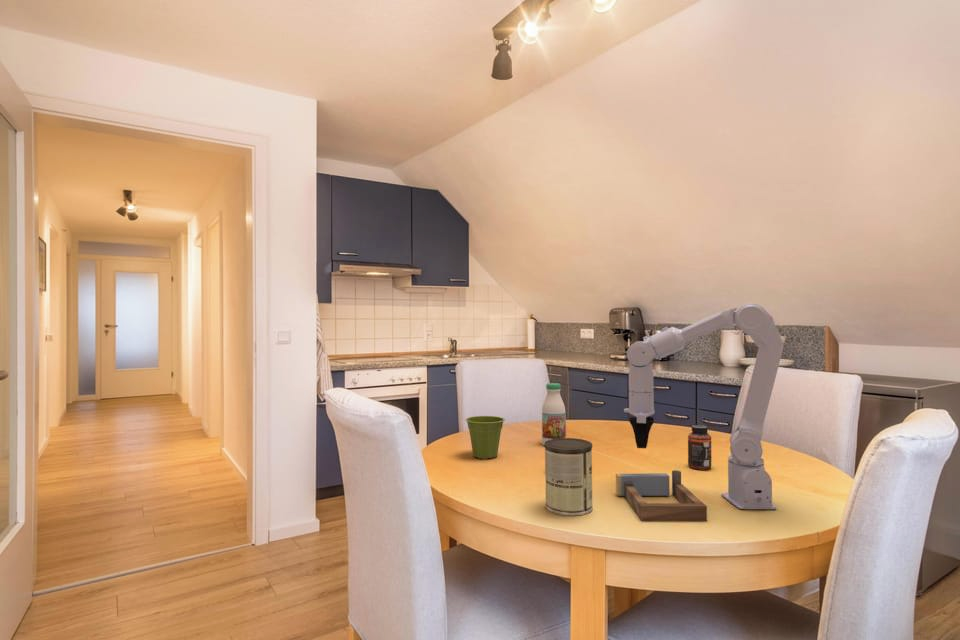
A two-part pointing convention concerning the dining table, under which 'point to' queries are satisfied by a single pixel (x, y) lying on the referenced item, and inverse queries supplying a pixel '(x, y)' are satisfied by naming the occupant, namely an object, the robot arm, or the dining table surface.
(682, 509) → the wooden u-shaped frame
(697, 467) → the supplement bottle
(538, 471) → the dining table surface
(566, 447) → the coffee can
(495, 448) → the plant pot
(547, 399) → the milk bottle
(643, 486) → the gate
